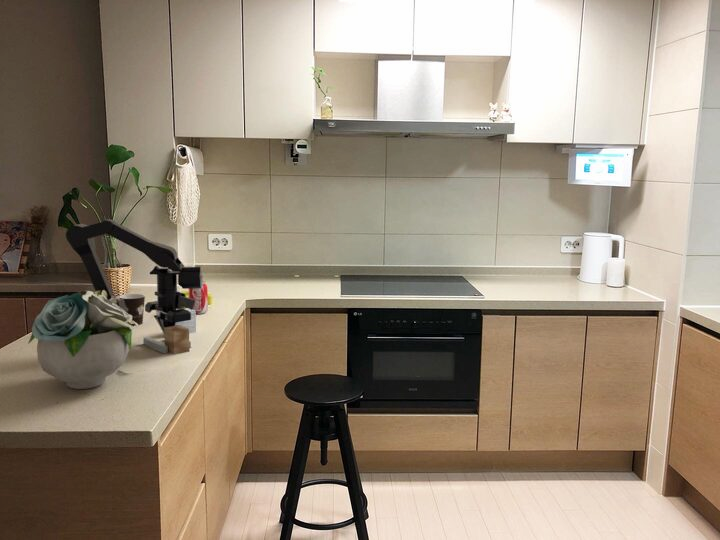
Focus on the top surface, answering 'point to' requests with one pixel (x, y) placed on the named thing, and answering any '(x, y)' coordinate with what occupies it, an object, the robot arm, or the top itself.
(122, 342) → the flower arrangement
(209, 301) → the ashtray
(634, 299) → the top surface
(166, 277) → the robot arm
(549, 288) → the top surface
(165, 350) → the chute
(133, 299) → the coffee mug
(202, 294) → the soda can
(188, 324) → the medicine box
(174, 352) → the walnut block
